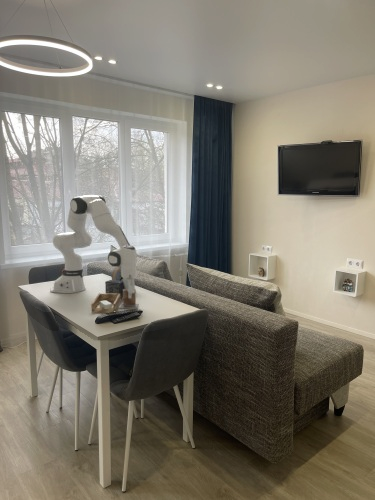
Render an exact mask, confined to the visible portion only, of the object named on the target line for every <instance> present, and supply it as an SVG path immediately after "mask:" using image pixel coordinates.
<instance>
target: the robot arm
mask: <svg viewBox="0 0 375 500" xmlns="http://www.w3.org/2000/svg"><path fill="white" fill-rule="evenodd" d="M69 205H70V207H69V211H68V215H67V216H68V217H67V222H66V224H67V227H68V228H69V229H70V230H72V231H71V232H70V231H69V232H61V233H58V234H55V235H54V236H53V239H52V244H53V247H54V248H55V249H56V250H58V251H59V252H60V253H61V254H62V256H63V260H64V268H63V269H62V271H61V276H59V277H58V278H57V279H55V281H54V283H53V286H52V287H51V288H50V289H49V291H50V292H51V293H60V294H61V293H62V294H75V293H78V292H83V291H85V290H86V285H85V282H84V268H83V257H82V256H81V255H80V254H78V253H75V251H74V250H75V249H84V248H88V247H90V246H91V245H92V242H93V239H92V235H91V234H90V232H88V231H87V229H86V220H87V216H88V214H89V215H91V219H92V221H93V224H94V227H95V228H96V230H98V231H99V232H101V233H104V234H108V235H110V236H112V237H113V238H114V239H115V240H116V242H117V244H118V247H119V248H117V249H113V250H111V251H110V252H109V253H108V255H107V262H108V264H109V265H110V266H112V267H115V268H116V267H118V266H121V277H123V282H124V286H125V288H126V289H127V291H128V298H132V293H135V290H136V287H135V286H136V285H135V284H136V283H135V279H136V278H137V276H138V272H137V270H138V269H137V260H138V255H137V250H136V247H135V246H134V245H131V244H130V242H129V240H128V239H127V237H126V234H125V233H124V231H123V230H122V229H123V228H121V227H120V225H119V224H118V223H117V222H116V221H115V219H114V218H113V216H112V213H111V211H110V208H109V207H108V205H107V201H106V199H105V197H104V196H103V195H101V194H86V195H81V196H74V197H73V198H72V199H71V200H70V204H69Z"/></svg>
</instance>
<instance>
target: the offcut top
mask: <svg viewBox="0 0 375 500" xmlns="http://www.w3.org/2000/svg"><path fill="white" fill-rule="evenodd" d="M99 305H100V306H101V307H102V308H104V309H110V308H112V306H113V304H112V302H108V301H107V300H105V301H100V303H99Z"/></svg>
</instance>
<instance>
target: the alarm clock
mask: <svg viewBox="0 0 375 500" xmlns="http://www.w3.org/2000/svg"><path fill="white" fill-rule="evenodd" d="M111 272H112V273H111V280H116V281H123V277H121V266H117V267H115V268H114V269H113V270H112V271H111ZM124 289H126V288H125V286H124Z"/></svg>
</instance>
